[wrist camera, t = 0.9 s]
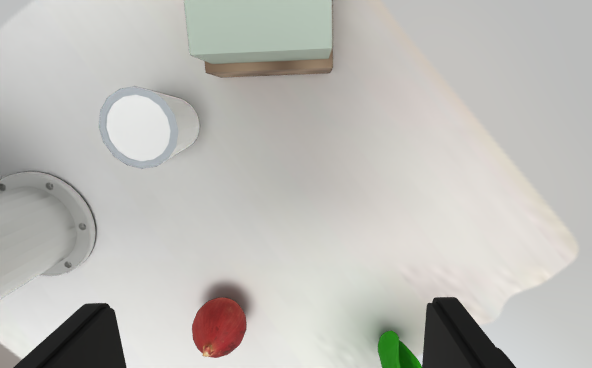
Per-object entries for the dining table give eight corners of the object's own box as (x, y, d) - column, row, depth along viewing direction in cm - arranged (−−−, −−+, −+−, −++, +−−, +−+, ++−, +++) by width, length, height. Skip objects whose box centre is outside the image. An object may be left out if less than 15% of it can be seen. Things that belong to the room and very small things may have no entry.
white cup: (215, 108, 32) (189, 108, 25) (192, 166, 34) (162, 181, 27) (153, 78, 32) (110, 71, 25) (133, 139, 33) (88, 148, 26)
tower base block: (221, 77, 32) (205, 72, 27) (211, -46, 29) (191, -77, 24) (329, 73, 31) (332, 67, 26) (328, -54, 28) (332, -86, 23)
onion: (261, 306, 38) (248, 358, 30) (230, 333, 39) (210, 390, 31) (226, 275, 37) (204, 320, 29) (195, 303, 38) (166, 354, 30)
